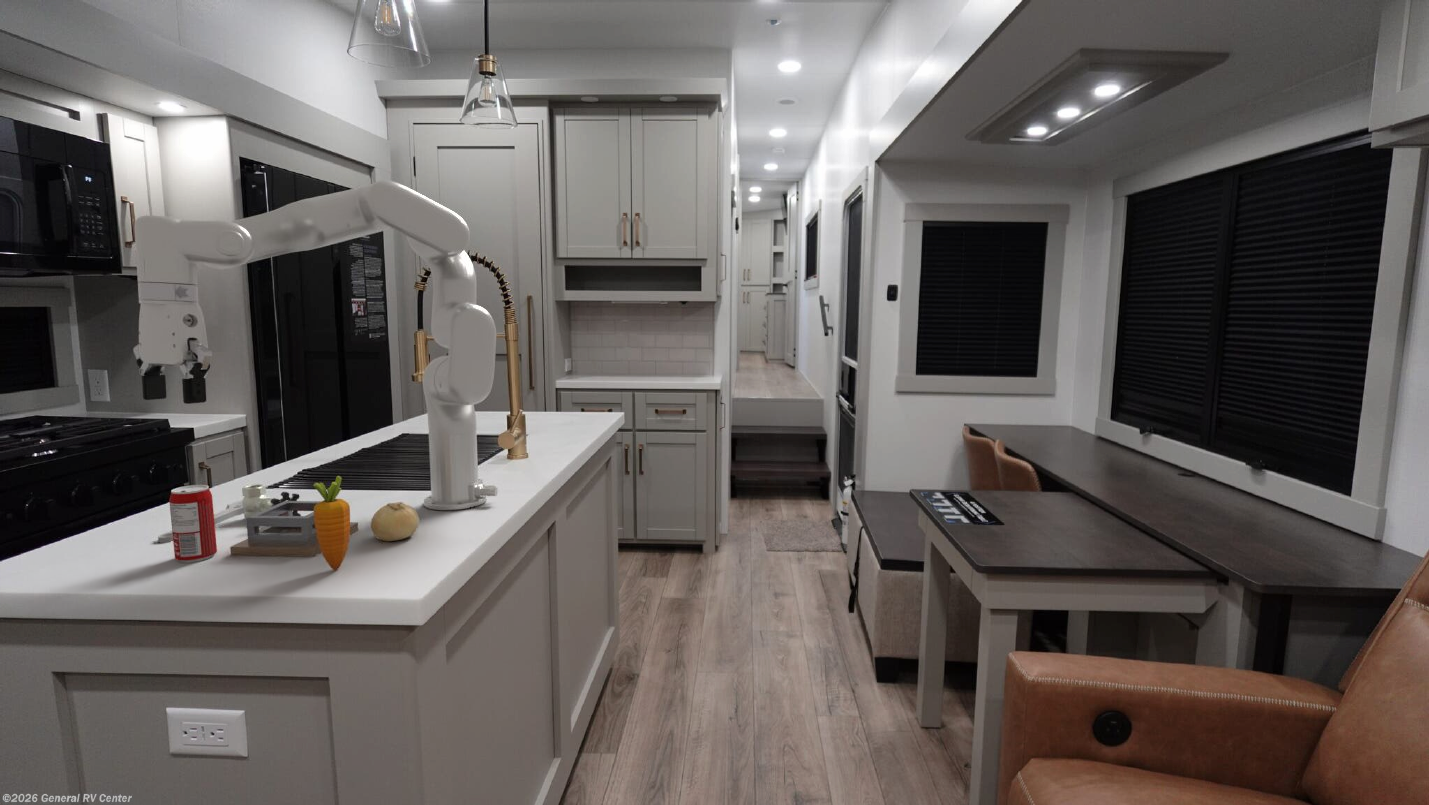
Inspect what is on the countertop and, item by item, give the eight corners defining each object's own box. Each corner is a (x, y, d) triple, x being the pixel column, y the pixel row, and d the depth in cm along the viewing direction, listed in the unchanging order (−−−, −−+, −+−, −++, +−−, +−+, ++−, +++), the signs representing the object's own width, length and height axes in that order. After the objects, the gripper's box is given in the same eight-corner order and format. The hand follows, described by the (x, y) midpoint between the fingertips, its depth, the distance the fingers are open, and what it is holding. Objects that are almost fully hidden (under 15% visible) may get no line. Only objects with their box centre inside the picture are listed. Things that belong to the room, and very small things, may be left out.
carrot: (315, 578, 104) (309, 482, 102) (319, 567, 109) (313, 475, 107) (352, 573, 106) (346, 479, 104) (354, 562, 111) (349, 473, 109)
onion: (361, 542, 121) (358, 503, 120) (394, 529, 128) (392, 492, 127) (397, 547, 118) (395, 508, 117) (429, 533, 126) (427, 496, 125)
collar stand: (358, 530, 127) (356, 499, 126) (314, 556, 113) (311, 521, 113) (284, 529, 127) (281, 498, 127) (230, 555, 113) (227, 520, 113)
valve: (232, 522, 132) (271, 530, 127) (229, 489, 131) (269, 496, 126) (266, 513, 138) (305, 521, 133) (264, 481, 137) (303, 488, 132)
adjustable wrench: (169, 546, 119) (168, 536, 119) (136, 545, 120) (135, 535, 120) (275, 505, 144) (274, 497, 144) (247, 504, 145) (247, 496, 145)
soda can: (214, 549, 116) (208, 481, 115) (219, 558, 112) (213, 487, 111) (173, 557, 113) (166, 486, 111) (177, 566, 109) (169, 493, 107)
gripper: (229, 297, 110) (234, 402, 112) (159, 296, 116) (164, 396, 118) (179, 294, 103) (186, 406, 105) (107, 293, 109) (114, 399, 111)
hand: (174, 400), depth 111 cm, fingers open, 9 cm apart
